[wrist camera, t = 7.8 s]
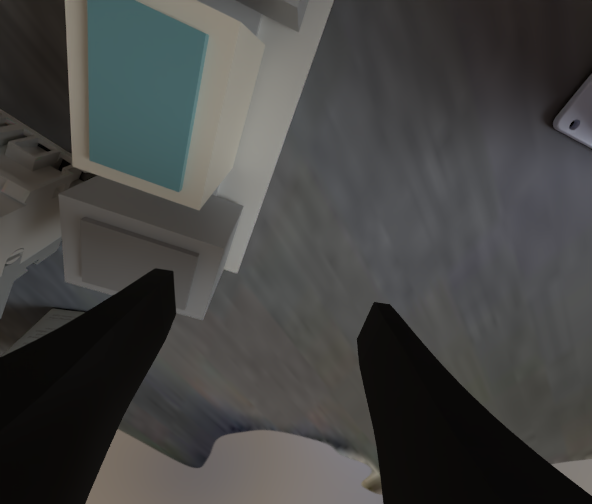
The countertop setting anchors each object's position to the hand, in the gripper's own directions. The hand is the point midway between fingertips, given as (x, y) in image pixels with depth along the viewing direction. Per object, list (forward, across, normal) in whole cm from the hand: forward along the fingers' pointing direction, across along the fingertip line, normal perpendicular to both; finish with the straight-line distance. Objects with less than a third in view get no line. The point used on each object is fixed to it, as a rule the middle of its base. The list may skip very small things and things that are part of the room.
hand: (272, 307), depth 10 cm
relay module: (+8, +5, -6) cm, 11 cm away
